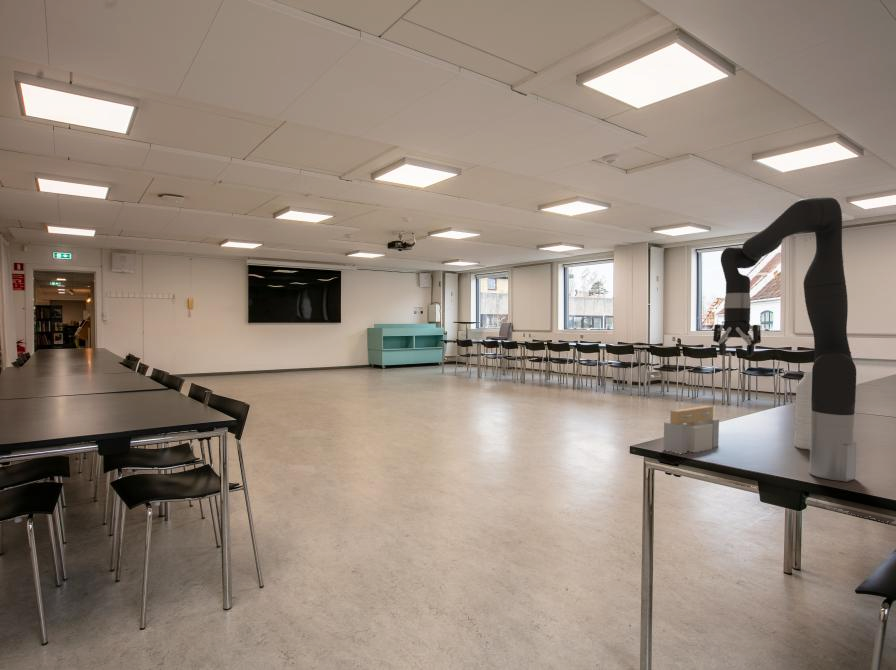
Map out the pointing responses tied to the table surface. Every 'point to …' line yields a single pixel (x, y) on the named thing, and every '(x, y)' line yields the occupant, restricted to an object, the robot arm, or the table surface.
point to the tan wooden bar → (691, 414)
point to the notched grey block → (691, 436)
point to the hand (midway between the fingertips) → (735, 355)
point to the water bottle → (803, 412)
